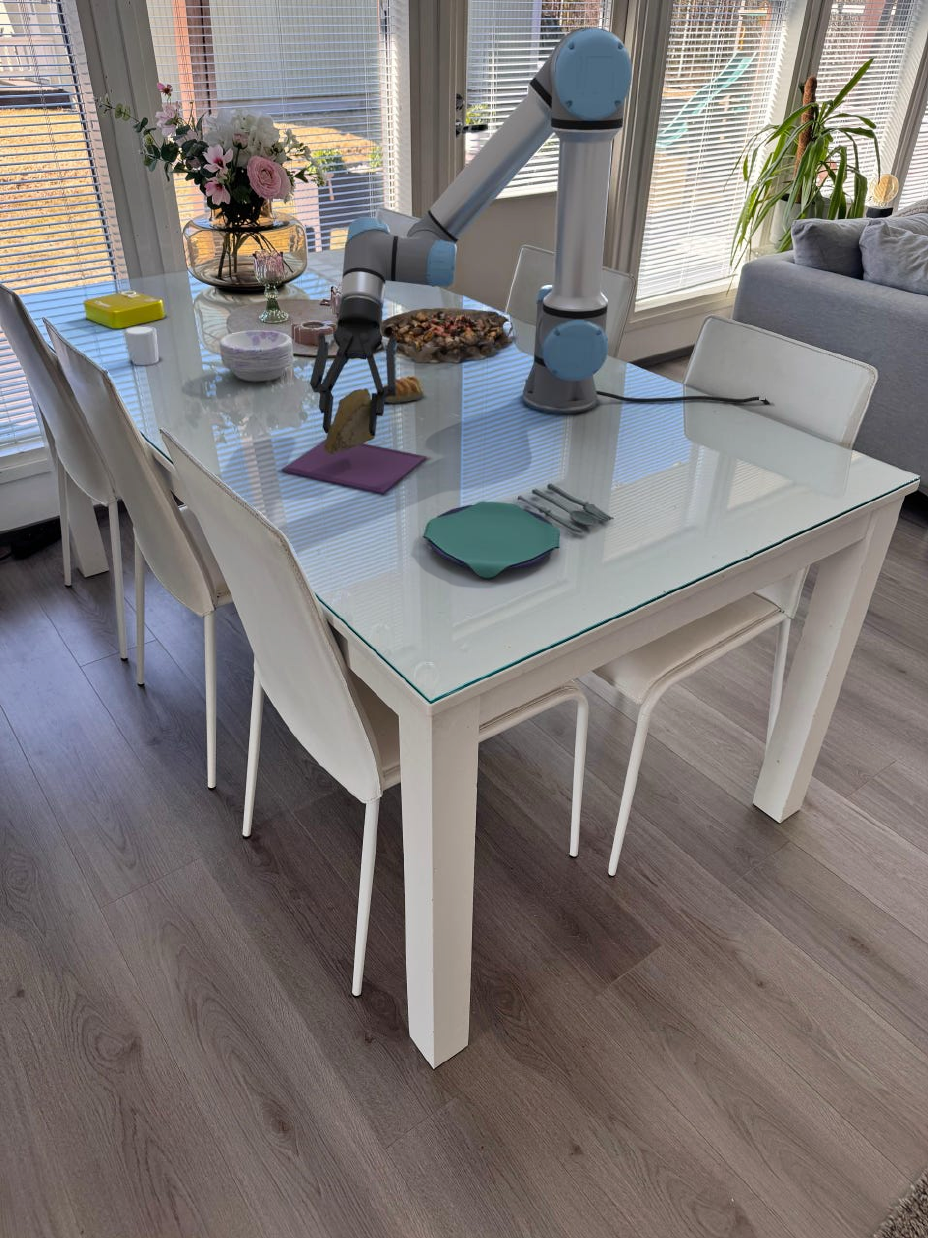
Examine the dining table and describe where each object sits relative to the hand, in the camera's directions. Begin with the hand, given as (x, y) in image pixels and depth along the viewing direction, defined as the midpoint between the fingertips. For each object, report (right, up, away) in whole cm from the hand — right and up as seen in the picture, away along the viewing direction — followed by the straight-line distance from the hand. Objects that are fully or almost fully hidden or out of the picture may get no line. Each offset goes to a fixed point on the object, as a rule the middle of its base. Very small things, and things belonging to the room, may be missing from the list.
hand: (349, 431), depth 150 cm
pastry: (+6, +14, +35) cm, 38 cm away
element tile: (-67, +45, +78) cm, 112 cm away
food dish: (+15, +36, +67) cm, 78 cm away
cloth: (0, -4, +7) cm, 8 cm away
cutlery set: (+28, -19, -13) cm, 36 cm away
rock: (-1, -1, +5) cm, 5 cm away
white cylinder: (-52, +26, +51) cm, 78 cm away
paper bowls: (-25, +22, +45) cm, 56 cm away
